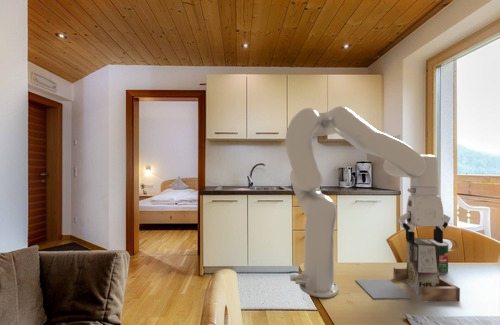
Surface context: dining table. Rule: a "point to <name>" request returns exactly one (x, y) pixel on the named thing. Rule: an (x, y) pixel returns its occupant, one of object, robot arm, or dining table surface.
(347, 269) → the dining table surface
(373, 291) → the mat
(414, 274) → the coffee box
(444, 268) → the canned tomato
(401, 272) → the cubby
